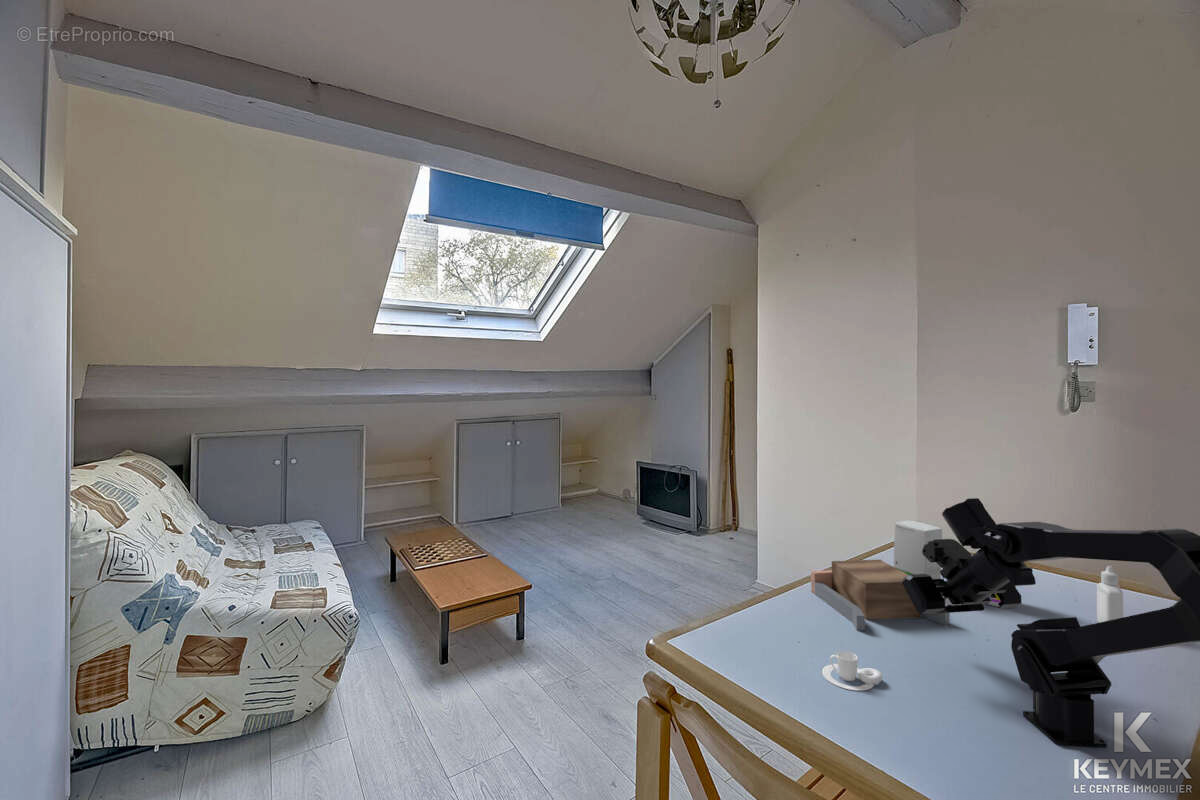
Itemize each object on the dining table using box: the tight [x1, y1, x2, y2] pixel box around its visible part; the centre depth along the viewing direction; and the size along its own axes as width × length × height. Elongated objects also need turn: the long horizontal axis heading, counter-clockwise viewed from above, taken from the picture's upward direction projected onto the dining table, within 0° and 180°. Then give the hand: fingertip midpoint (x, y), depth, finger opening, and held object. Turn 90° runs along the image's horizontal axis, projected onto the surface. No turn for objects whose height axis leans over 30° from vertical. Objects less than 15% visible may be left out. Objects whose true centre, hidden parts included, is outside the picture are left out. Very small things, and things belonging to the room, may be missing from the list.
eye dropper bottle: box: [1096, 565, 1124, 623], centre depth 101 cm, size 4×6×12 cm
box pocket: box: [810, 569, 951, 632], centre depth 111 cm, size 20×20×5 cm
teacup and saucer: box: [822, 650, 883, 692], centre depth 84 cm, size 9×8×4 cm
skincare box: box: [893, 519, 943, 579], centre depth 122 cm, size 8×7×16 cm
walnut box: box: [831, 559, 921, 621], centre depth 113 cm, size 14×12×8 cm
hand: (936, 610), depth 93 cm, fingers closed
